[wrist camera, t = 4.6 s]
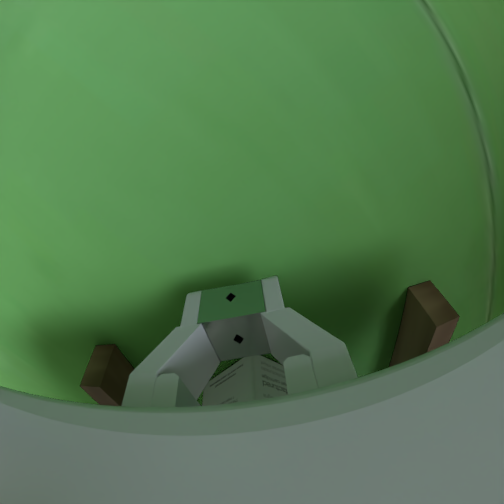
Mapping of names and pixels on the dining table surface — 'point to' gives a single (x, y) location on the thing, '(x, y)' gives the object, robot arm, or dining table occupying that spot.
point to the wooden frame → (407, 347)
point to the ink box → (246, 382)
